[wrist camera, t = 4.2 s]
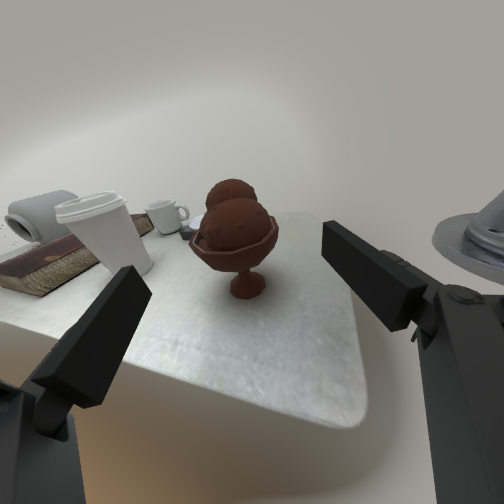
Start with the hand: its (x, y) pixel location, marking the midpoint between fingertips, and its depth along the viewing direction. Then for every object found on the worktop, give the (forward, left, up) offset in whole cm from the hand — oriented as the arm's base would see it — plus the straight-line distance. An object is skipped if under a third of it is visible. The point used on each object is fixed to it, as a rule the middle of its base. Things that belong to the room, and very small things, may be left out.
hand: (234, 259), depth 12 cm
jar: (+76, +26, -12) cm, 81 cm away
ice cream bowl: (+8, -5, -12) cm, 15 cm away
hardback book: (+52, +17, -12) cm, 56 cm away
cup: (+43, -5, -12) cm, 45 cm away
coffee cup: (+29, +8, -12) cm, 33 cm away
